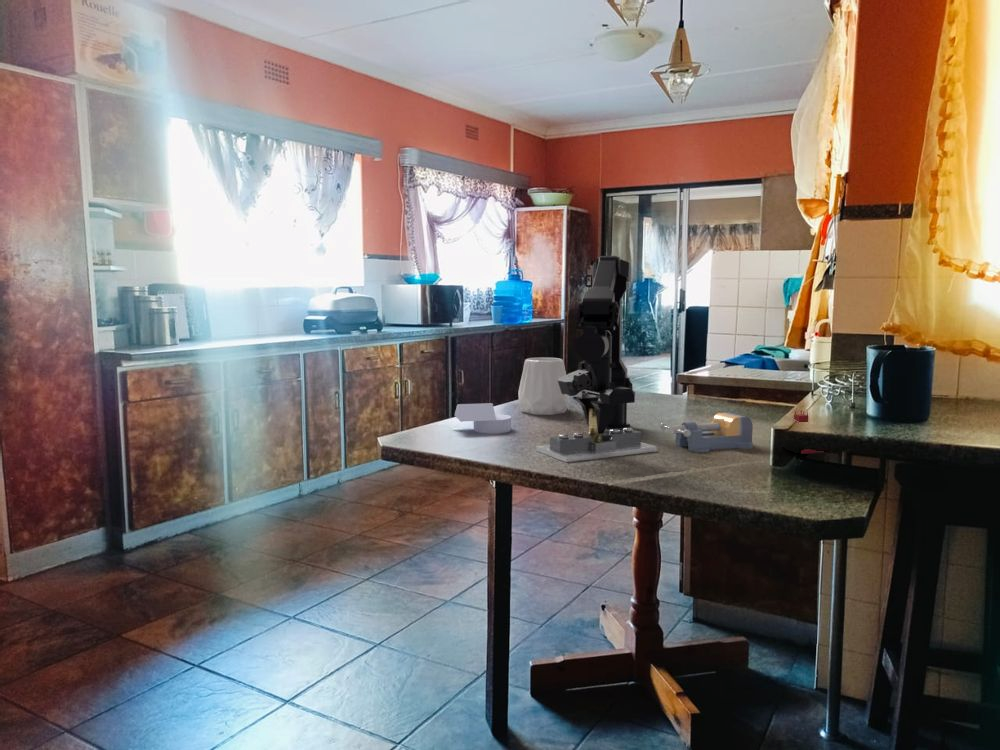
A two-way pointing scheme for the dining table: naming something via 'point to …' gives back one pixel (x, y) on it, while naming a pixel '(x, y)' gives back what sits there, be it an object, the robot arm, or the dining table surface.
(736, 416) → the vise
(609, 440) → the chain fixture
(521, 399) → the vase
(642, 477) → the dining table surface
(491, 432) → the wedge on round base
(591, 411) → the pin
